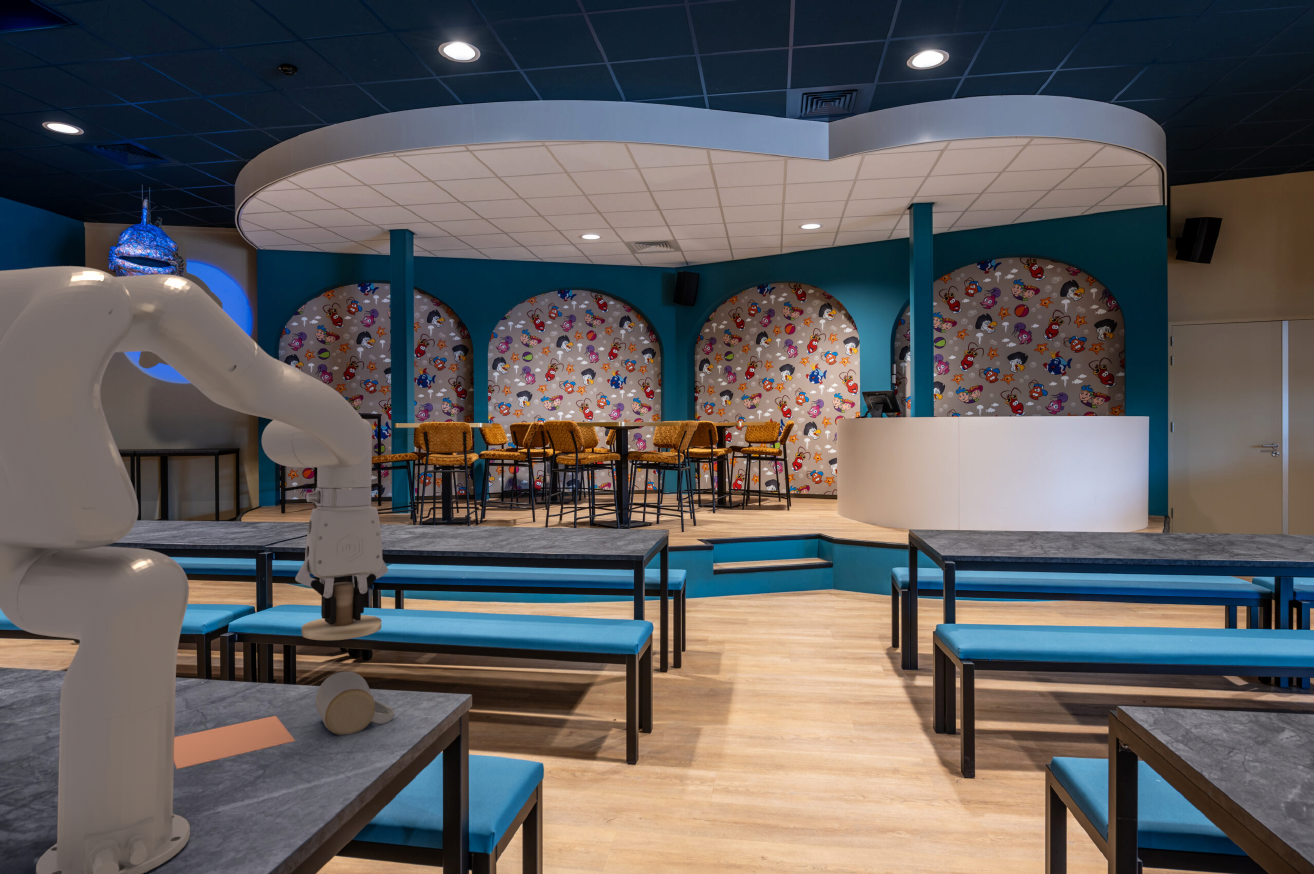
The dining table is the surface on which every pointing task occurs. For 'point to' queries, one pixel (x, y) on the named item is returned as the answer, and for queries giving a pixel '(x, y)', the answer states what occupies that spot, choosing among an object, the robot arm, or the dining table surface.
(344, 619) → the lid
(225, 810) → the dining table surface
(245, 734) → the mat
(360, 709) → the ceramic mug
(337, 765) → the dining table surface
